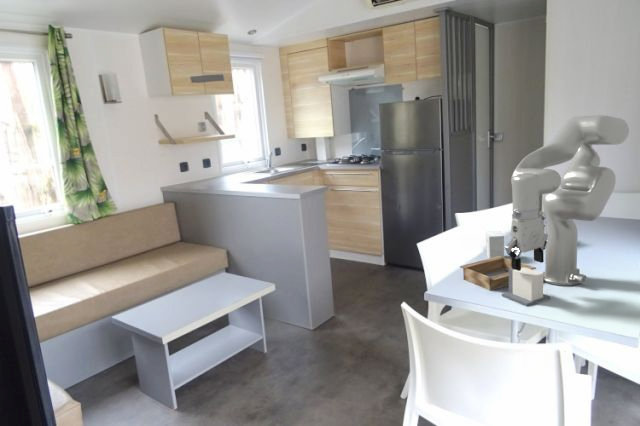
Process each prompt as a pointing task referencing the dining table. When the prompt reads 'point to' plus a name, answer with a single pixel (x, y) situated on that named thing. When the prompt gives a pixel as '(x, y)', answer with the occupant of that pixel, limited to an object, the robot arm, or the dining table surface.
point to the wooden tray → (478, 269)
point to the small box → (495, 244)
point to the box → (526, 283)
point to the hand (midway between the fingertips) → (527, 265)
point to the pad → (523, 299)
